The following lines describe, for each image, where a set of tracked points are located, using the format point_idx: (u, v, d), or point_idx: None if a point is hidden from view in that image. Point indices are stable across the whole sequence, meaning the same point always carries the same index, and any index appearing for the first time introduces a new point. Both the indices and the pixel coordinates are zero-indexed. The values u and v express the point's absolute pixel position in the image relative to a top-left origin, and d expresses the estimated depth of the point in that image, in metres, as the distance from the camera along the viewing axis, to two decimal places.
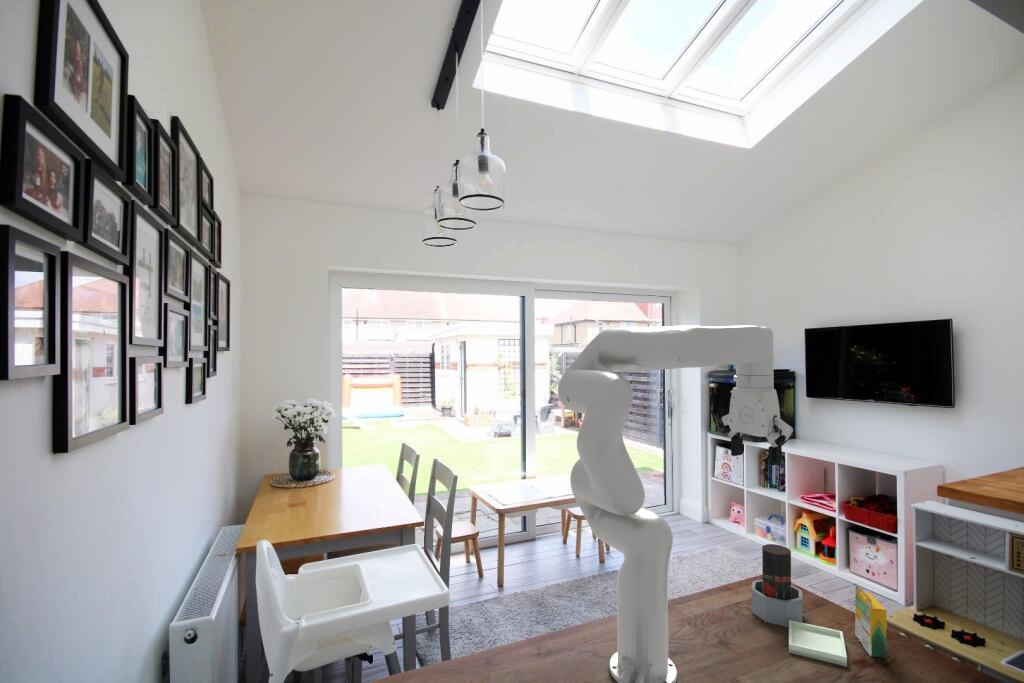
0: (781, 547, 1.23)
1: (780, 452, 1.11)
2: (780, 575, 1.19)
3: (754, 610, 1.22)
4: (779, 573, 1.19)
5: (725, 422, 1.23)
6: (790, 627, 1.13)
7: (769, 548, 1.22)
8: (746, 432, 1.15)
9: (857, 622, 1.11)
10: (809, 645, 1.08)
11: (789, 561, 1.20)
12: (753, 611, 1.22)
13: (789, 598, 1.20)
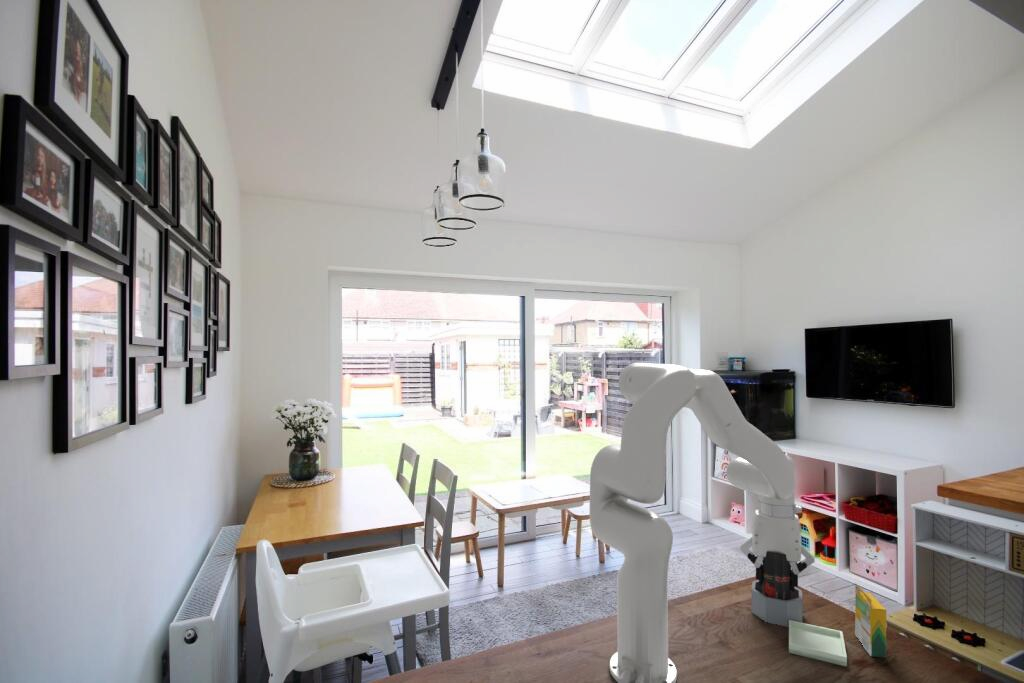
0: None
1: None
2: (780, 575, 1.19)
3: (754, 610, 1.22)
4: (779, 573, 1.19)
5: None
6: (790, 627, 1.13)
7: None
8: None
9: (857, 622, 1.11)
10: (809, 645, 1.08)
11: None
12: (753, 611, 1.22)
13: (789, 598, 1.20)
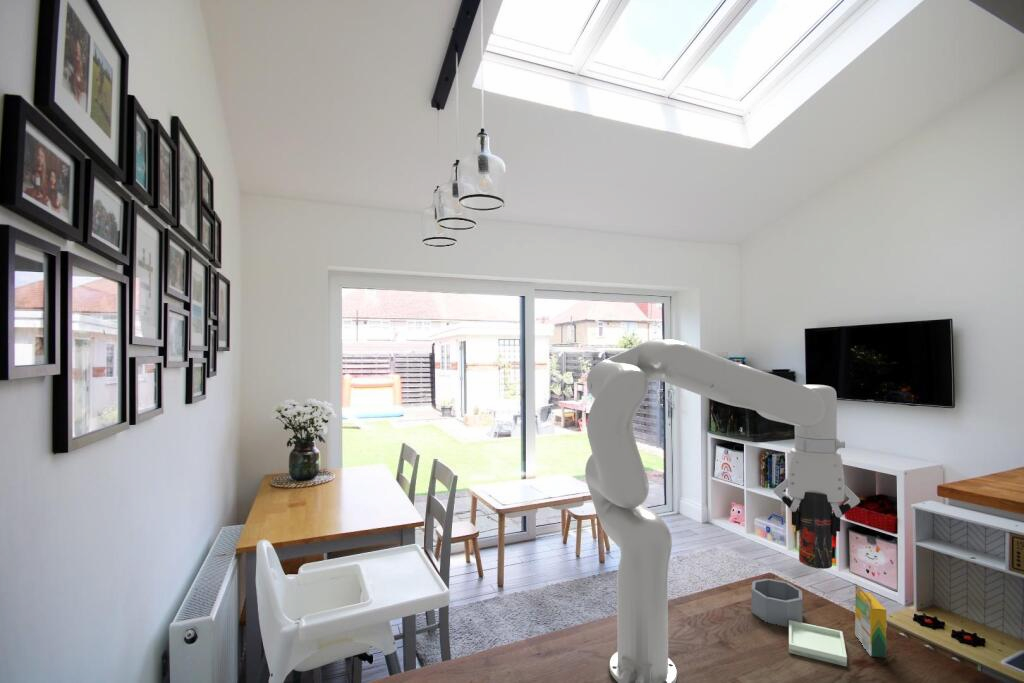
0: None
1: None
2: (820, 518, 1.06)
3: (754, 610, 1.22)
4: (819, 516, 1.06)
5: None
6: (790, 627, 1.13)
7: None
8: None
9: (857, 622, 1.11)
10: (809, 645, 1.08)
11: None
12: (753, 611, 1.22)
13: (830, 544, 1.07)
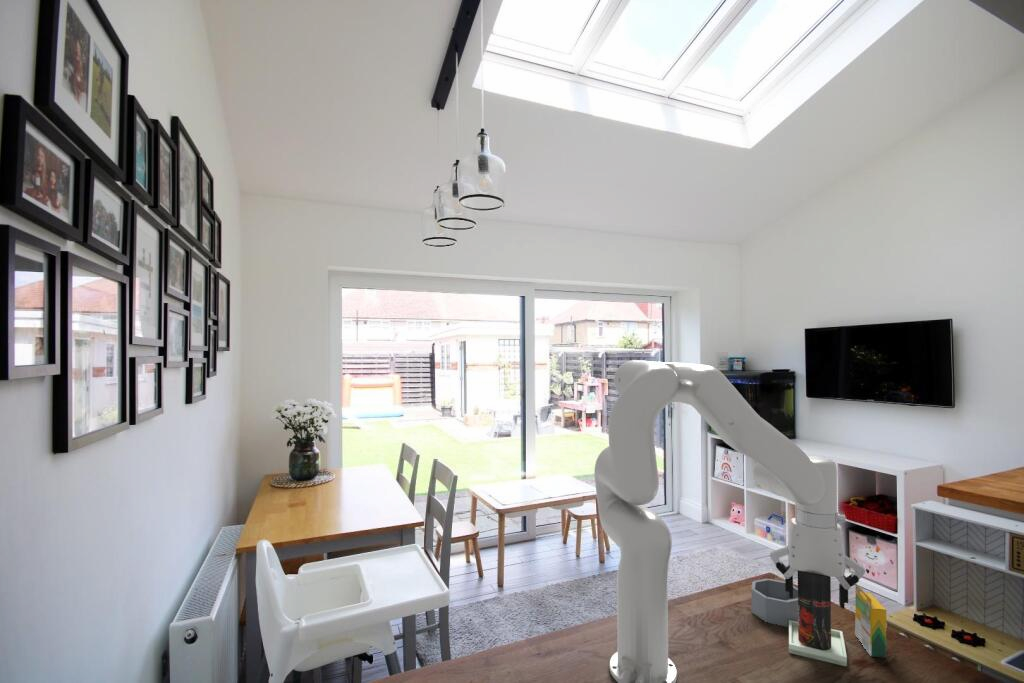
0: None
1: None
2: (819, 599, 1.06)
3: (754, 610, 1.22)
4: (818, 597, 1.06)
5: None
6: (790, 627, 1.13)
7: None
8: None
9: (857, 622, 1.11)
10: None
11: (829, 584, 1.07)
12: (753, 611, 1.22)
13: (829, 625, 1.07)
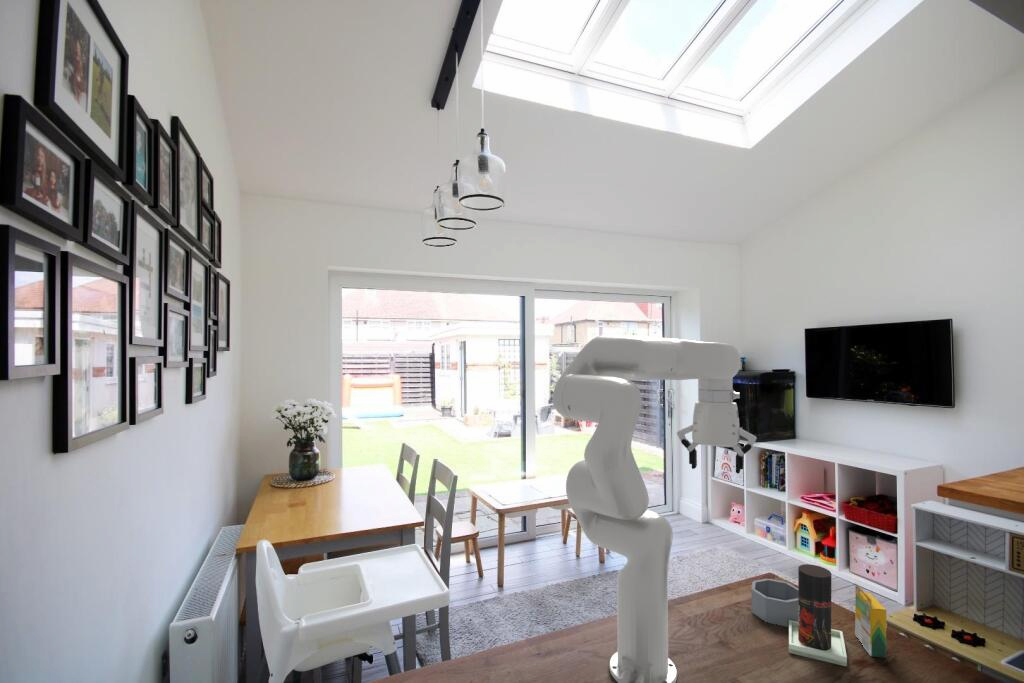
0: (820, 568, 1.10)
1: (689, 456, 1.25)
2: (819, 600, 1.06)
3: (754, 610, 1.22)
4: (818, 598, 1.06)
5: None
6: (790, 627, 1.13)
7: (806, 569, 1.09)
8: None
9: (857, 622, 1.11)
10: None
11: (829, 585, 1.07)
12: (753, 611, 1.22)
13: (829, 626, 1.07)
